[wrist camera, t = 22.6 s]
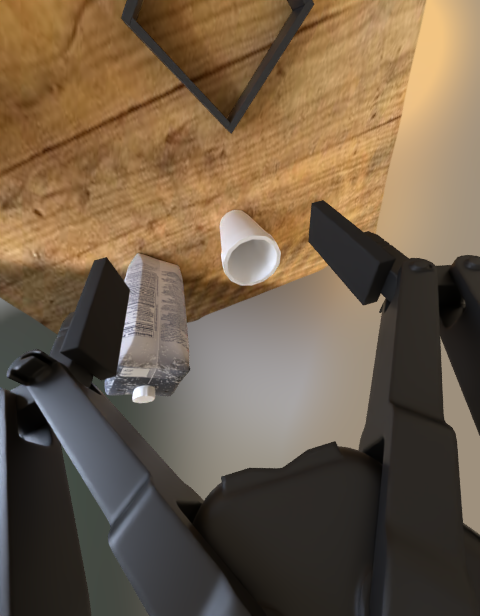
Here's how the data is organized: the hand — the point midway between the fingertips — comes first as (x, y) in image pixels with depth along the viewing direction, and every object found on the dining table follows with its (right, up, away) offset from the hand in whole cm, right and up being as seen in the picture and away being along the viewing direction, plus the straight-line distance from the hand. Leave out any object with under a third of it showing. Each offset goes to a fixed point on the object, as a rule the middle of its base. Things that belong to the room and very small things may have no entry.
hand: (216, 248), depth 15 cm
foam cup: (+1, +13, +30) cm, 32 cm away
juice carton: (-17, +4, +33) cm, 37 cm away
